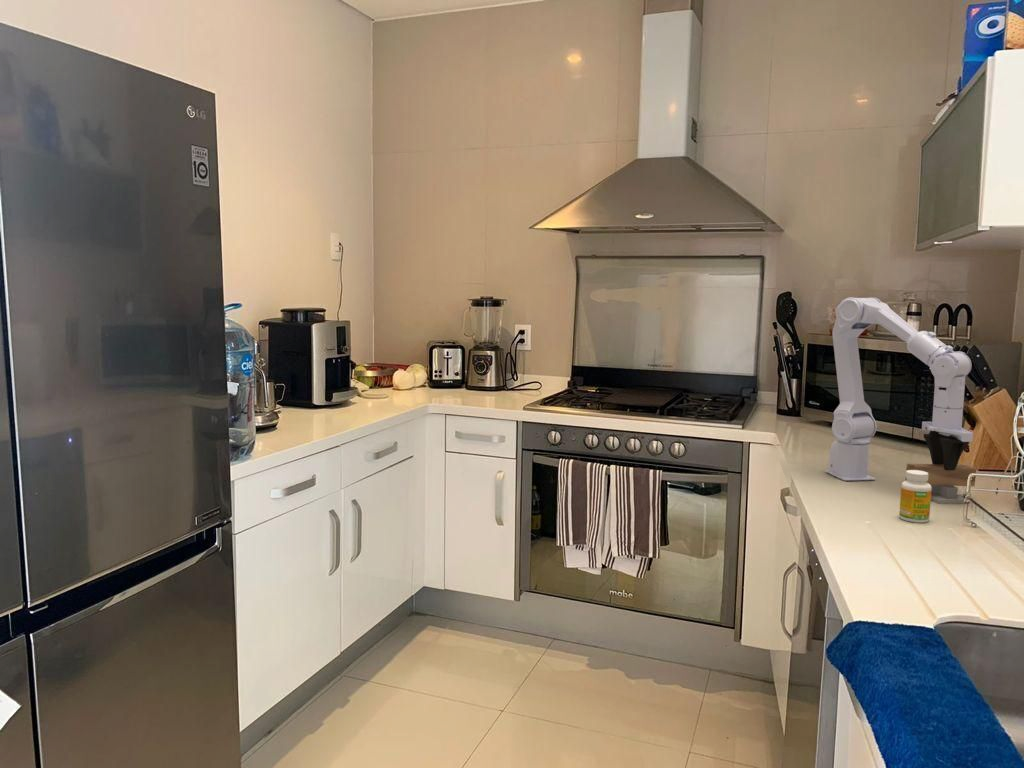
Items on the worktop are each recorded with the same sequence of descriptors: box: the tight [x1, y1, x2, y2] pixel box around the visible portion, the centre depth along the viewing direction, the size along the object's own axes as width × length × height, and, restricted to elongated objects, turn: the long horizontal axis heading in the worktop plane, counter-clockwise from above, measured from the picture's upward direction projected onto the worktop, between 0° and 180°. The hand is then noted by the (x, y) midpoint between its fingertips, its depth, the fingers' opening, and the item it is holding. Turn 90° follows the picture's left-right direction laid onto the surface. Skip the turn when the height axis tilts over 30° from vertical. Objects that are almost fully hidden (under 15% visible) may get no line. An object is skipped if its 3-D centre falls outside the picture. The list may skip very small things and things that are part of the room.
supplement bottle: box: [898, 470, 932, 524], centre depth 155 cm, size 5×5×10 cm
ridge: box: [931, 485, 965, 505], centre depth 172 cm, size 9×7×3 cm
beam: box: [904, 462, 978, 487], centre depth 172 cm, size 4×14×4 cm, turn 95°
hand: (943, 467), depth 171 cm, fingers open, 3 cm apart
